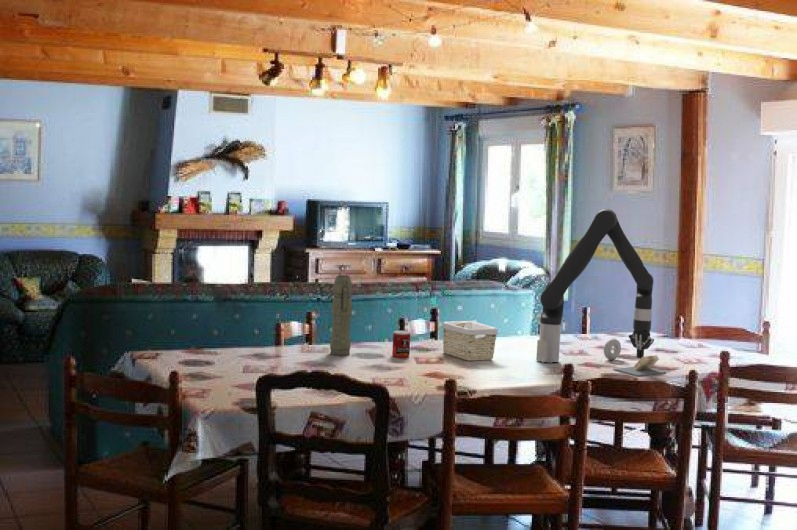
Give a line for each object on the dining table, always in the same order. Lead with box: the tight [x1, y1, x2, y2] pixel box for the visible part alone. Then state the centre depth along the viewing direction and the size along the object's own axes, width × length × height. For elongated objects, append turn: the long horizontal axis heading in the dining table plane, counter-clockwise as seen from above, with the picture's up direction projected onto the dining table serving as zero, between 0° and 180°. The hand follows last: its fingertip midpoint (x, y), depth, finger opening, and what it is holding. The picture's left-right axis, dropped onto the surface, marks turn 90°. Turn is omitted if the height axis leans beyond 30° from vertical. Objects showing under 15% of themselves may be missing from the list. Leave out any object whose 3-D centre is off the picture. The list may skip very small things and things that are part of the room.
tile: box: [633, 354, 660, 370], centre depth 431 cm, size 9×2×7 cm
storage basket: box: [441, 320, 498, 362], centre depth 447 cm, size 24×16×15 cm
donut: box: [603, 338, 622, 361], centre depth 456 cm, size 10×4×10 cm, turn 125°
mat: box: [612, 366, 667, 377], centre depth 430 cm, size 18×14×1 cm
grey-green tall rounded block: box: [329, 274, 353, 357], centre depth 437 cm, size 9×12×35 cm
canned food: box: [391, 330, 411, 359], centre depth 439 cm, size 8×8×11 cm
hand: (639, 358), depth 432 cm, fingers closed
